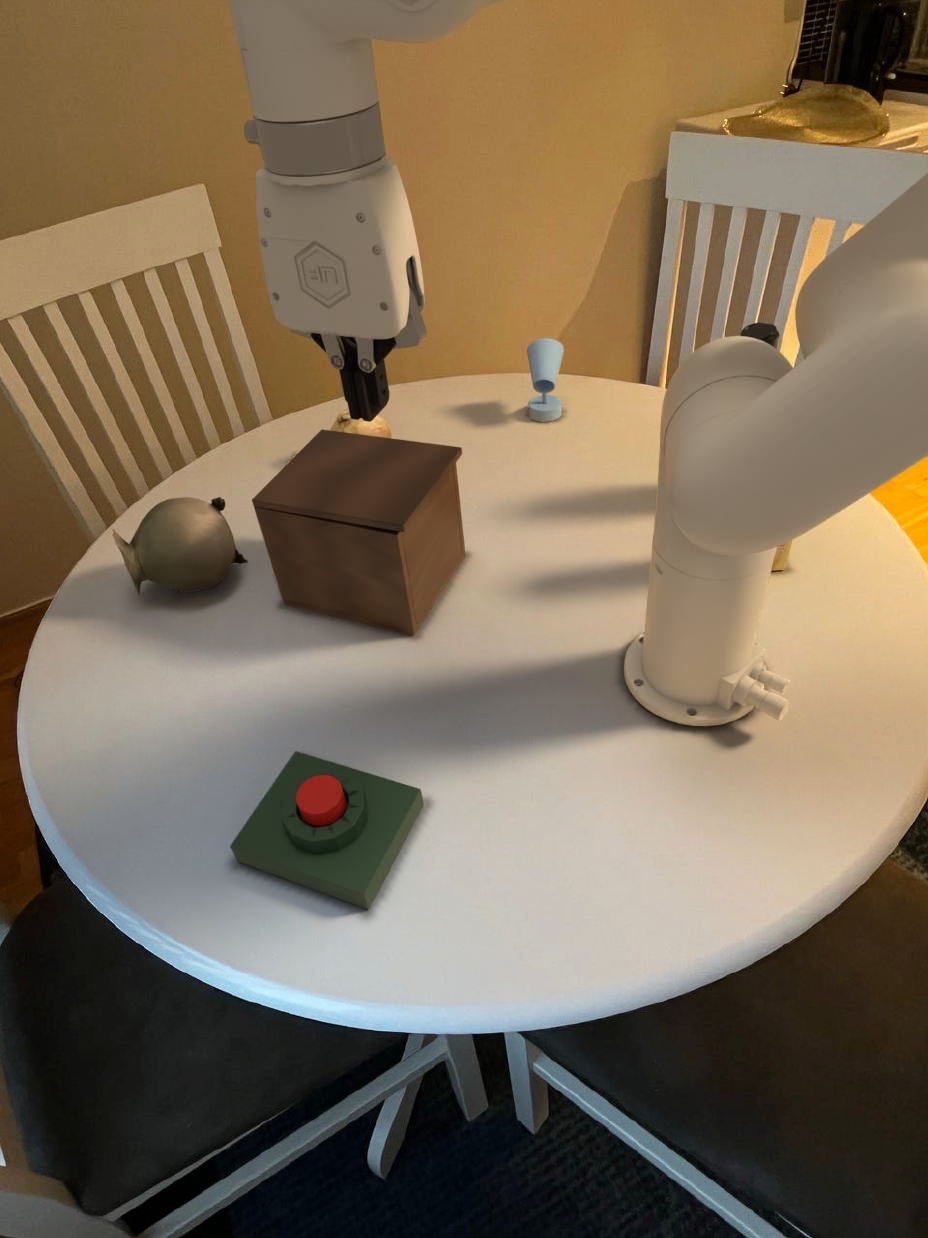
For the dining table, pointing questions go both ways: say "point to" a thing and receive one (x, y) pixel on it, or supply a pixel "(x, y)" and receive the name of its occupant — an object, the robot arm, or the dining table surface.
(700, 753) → the dining table surface
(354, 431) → the onion
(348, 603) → the chest
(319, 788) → the button
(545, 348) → the spotlight
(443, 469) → the lid
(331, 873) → the control
